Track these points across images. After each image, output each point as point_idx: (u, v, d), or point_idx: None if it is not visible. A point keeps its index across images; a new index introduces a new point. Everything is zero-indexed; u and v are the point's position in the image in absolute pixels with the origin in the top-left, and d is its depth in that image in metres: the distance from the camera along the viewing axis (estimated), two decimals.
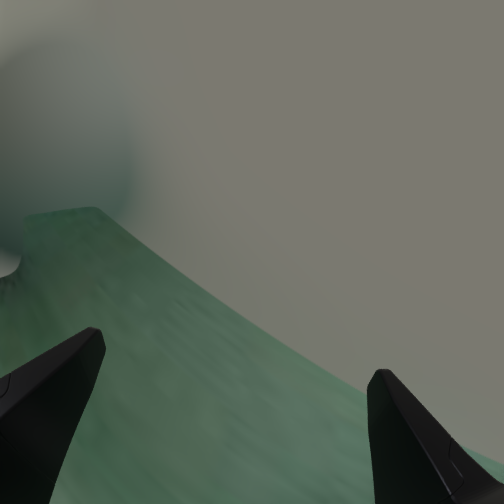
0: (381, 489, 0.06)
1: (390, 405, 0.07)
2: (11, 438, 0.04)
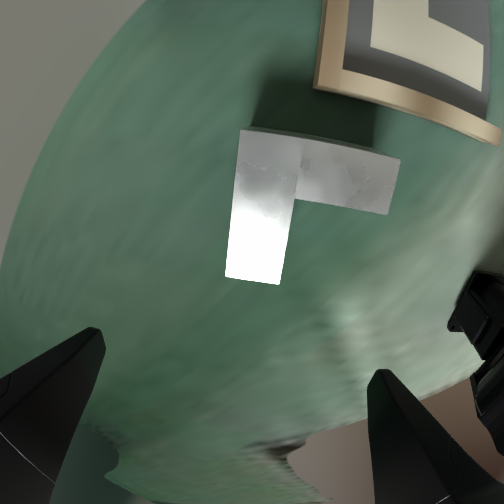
0: (381, 489, 0.06)
1: (390, 405, 0.07)
2: (11, 438, 0.04)
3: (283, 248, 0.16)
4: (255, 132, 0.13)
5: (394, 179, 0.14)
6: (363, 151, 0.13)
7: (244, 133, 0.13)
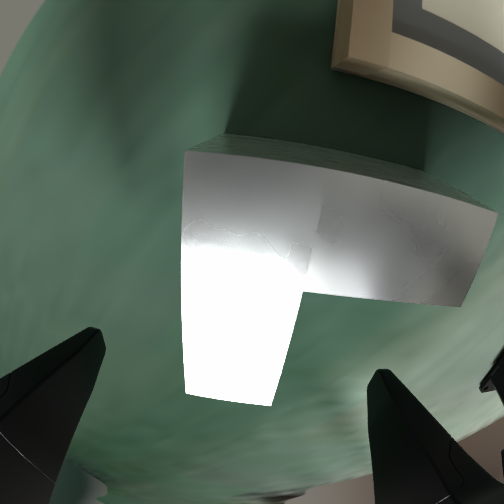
0: (381, 489, 0.06)
1: (390, 405, 0.07)
2: (11, 438, 0.04)
3: (279, 366, 0.08)
4: (217, 155, 0.06)
5: (483, 248, 0.06)
6: (443, 197, 0.06)
7: (193, 158, 0.06)
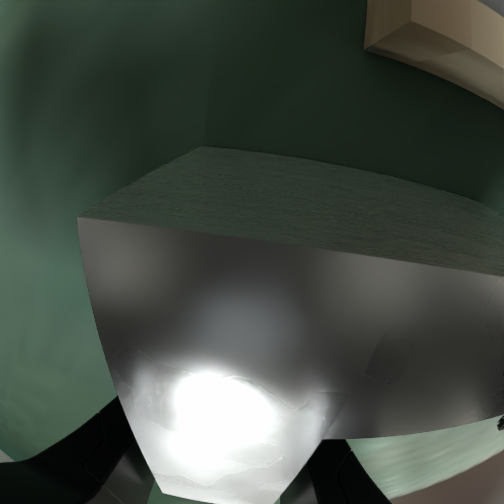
0: (283, 495, 0.06)
1: None
2: (116, 489, 0.04)
3: (280, 490, 0.05)
4: (144, 230, 0.02)
5: None
6: None
7: (95, 235, 0.02)
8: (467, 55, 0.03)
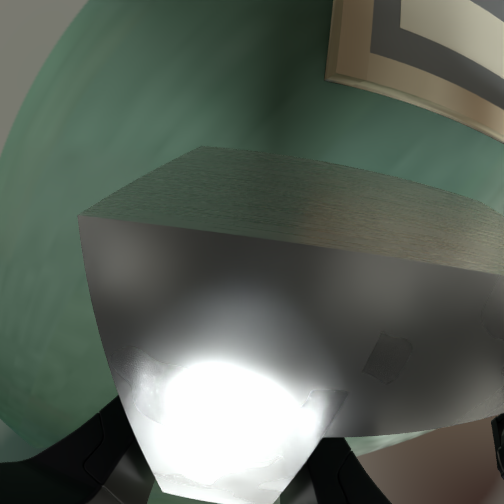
0: (283, 495, 0.06)
1: None
2: (116, 490, 0.04)
3: (280, 488, 0.05)
4: (144, 228, 0.02)
5: None
6: None
7: (96, 233, 0.02)
8: (368, 82, 0.09)
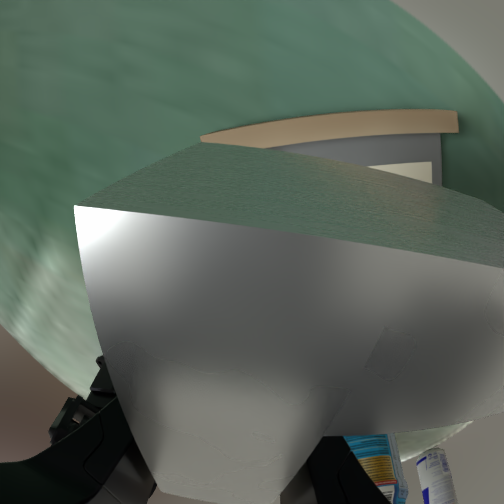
0: (283, 495, 0.06)
1: None
2: (115, 490, 0.04)
3: (279, 488, 0.05)
4: (142, 218, 0.02)
5: None
6: None
7: (92, 224, 0.02)
8: None
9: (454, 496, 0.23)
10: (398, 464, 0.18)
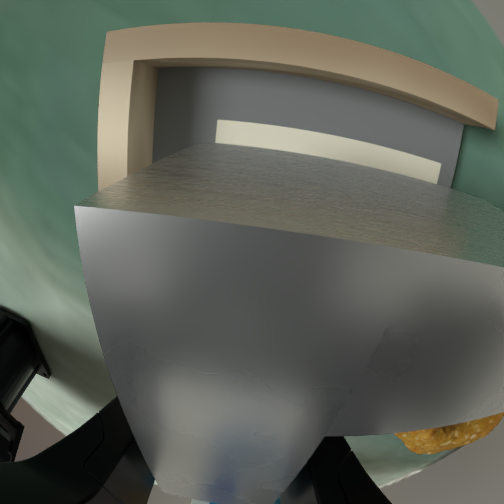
0: (283, 495, 0.06)
1: None
2: (115, 490, 0.04)
3: (281, 489, 0.05)
4: (142, 218, 0.02)
5: None
6: None
7: (93, 224, 0.02)
8: None
9: None
10: None
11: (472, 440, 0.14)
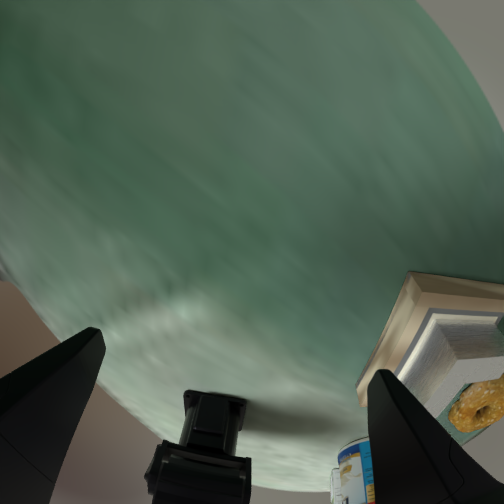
0: (381, 489, 0.06)
1: (390, 405, 0.07)
2: (11, 438, 0.04)
3: (447, 404, 0.19)
4: (463, 359, 0.17)
5: None
6: (503, 356, 0.17)
7: (458, 361, 0.17)
8: (413, 305, 0.18)
9: None
10: None
11: (491, 423, 0.24)
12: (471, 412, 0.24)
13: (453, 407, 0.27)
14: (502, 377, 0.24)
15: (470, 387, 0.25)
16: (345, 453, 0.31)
